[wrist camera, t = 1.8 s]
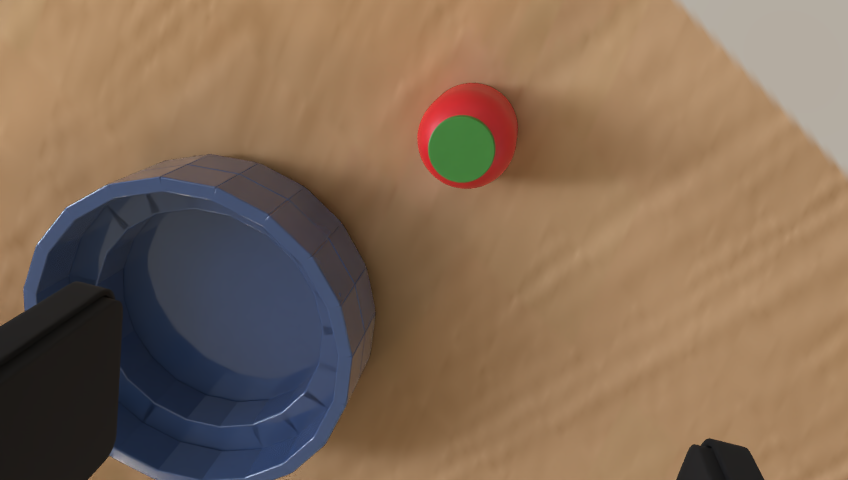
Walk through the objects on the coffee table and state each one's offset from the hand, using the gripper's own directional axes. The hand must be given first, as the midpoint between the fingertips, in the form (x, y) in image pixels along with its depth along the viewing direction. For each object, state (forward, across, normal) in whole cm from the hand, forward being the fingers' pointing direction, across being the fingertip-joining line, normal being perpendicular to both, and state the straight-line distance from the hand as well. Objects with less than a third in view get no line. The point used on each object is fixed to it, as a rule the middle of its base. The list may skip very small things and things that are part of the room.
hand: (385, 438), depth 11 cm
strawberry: (+20, 0, -2) cm, 20 cm away
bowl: (+20, +10, +9) cm, 24 cm away
